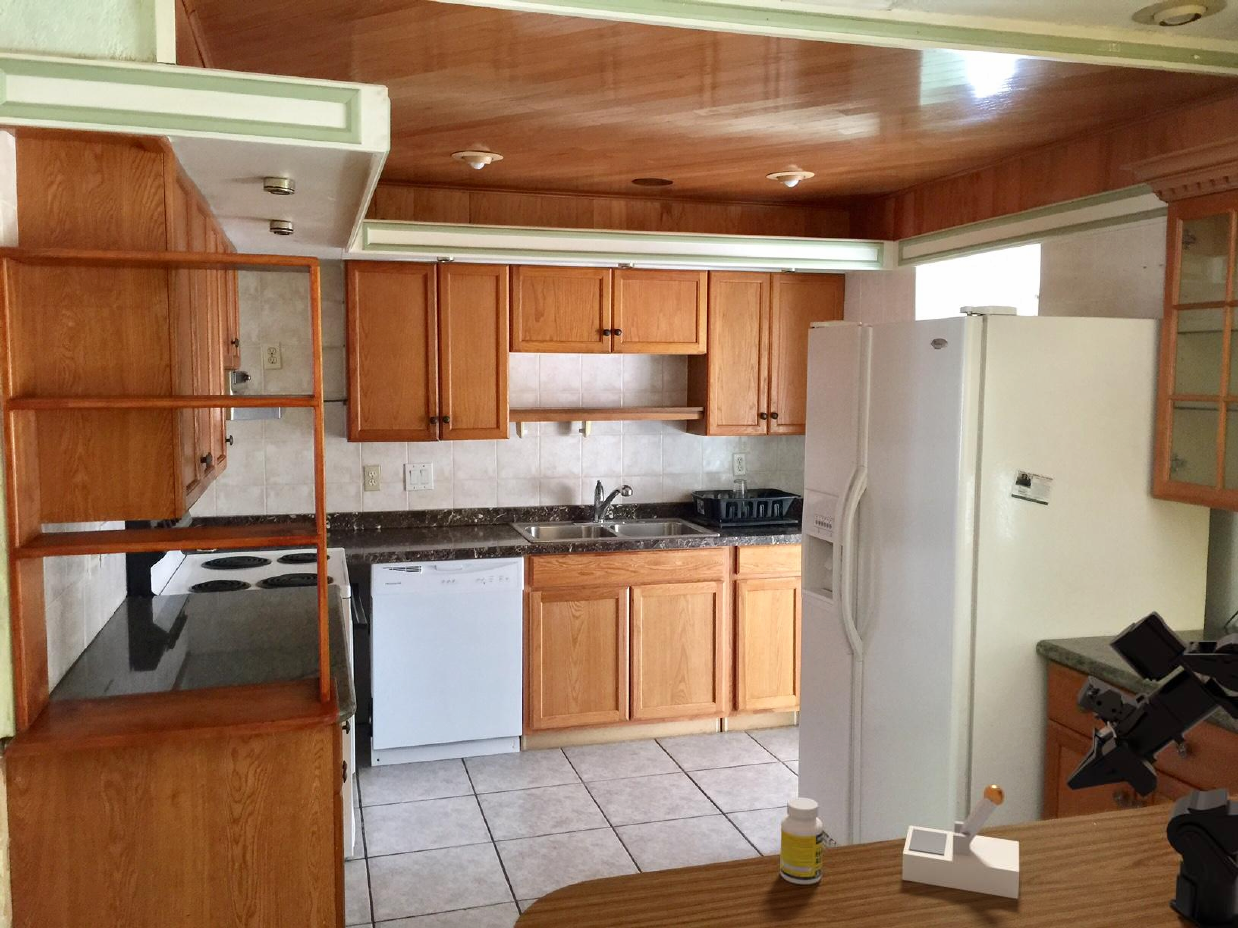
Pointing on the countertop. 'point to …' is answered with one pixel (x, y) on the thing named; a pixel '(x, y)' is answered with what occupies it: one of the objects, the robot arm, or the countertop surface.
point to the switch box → (961, 861)
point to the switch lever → (982, 811)
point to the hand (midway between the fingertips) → (1069, 785)
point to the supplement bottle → (801, 842)
